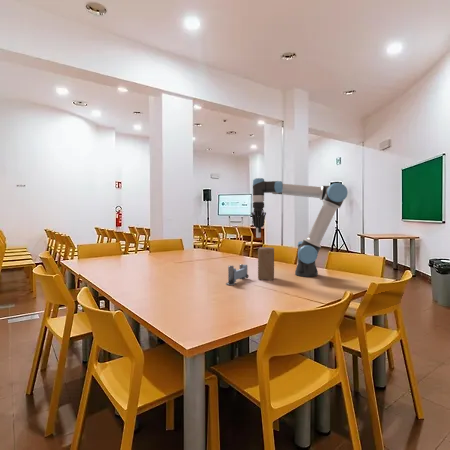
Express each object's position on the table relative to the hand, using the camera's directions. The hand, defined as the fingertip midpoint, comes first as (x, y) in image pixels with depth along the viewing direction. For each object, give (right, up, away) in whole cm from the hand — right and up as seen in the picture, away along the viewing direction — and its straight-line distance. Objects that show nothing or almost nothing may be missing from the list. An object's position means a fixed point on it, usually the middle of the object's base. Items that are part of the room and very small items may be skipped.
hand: (258, 237), depth 206 cm
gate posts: (-15, -27, -12) cm, 33 cm away
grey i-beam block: (-13, -26, -11) cm, 31 cm away
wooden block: (+4, -27, -5) cm, 28 cm away
